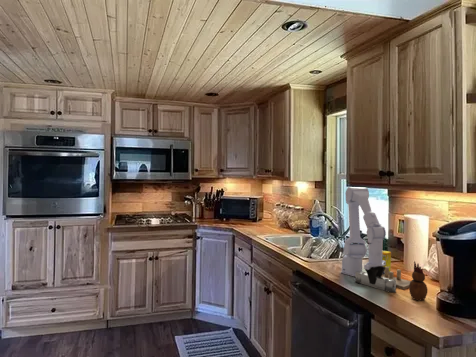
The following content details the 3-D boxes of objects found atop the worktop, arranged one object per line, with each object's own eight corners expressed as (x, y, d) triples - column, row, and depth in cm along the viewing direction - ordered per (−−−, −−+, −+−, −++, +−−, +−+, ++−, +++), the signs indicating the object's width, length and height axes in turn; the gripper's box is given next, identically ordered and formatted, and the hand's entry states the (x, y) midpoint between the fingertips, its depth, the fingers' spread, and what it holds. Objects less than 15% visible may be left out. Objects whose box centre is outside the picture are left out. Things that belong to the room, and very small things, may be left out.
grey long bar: (353, 281, 163) (353, 272, 163) (358, 280, 166) (359, 270, 166) (392, 293, 148) (392, 282, 148) (397, 291, 151) (398, 280, 151)
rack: (363, 278, 170) (363, 266, 170) (375, 274, 177) (375, 263, 177) (403, 289, 154) (404, 276, 154) (415, 285, 161) (416, 272, 161)
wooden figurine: (406, 296, 145) (407, 260, 145) (419, 296, 146) (420, 260, 146) (415, 302, 139) (416, 264, 138) (429, 302, 139) (430, 264, 139)
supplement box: (374, 272, 182) (374, 251, 182) (379, 270, 186) (379, 249, 186) (385, 274, 178) (386, 253, 177) (390, 272, 182) (391, 251, 182)
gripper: (374, 256, 149) (374, 288, 149) (392, 252, 158) (391, 282, 158) (360, 253, 155) (359, 284, 155) (377, 249, 164) (377, 278, 164)
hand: (374, 283), depth 157 cm, fingers closed on grey long bar, 3 cm apart
